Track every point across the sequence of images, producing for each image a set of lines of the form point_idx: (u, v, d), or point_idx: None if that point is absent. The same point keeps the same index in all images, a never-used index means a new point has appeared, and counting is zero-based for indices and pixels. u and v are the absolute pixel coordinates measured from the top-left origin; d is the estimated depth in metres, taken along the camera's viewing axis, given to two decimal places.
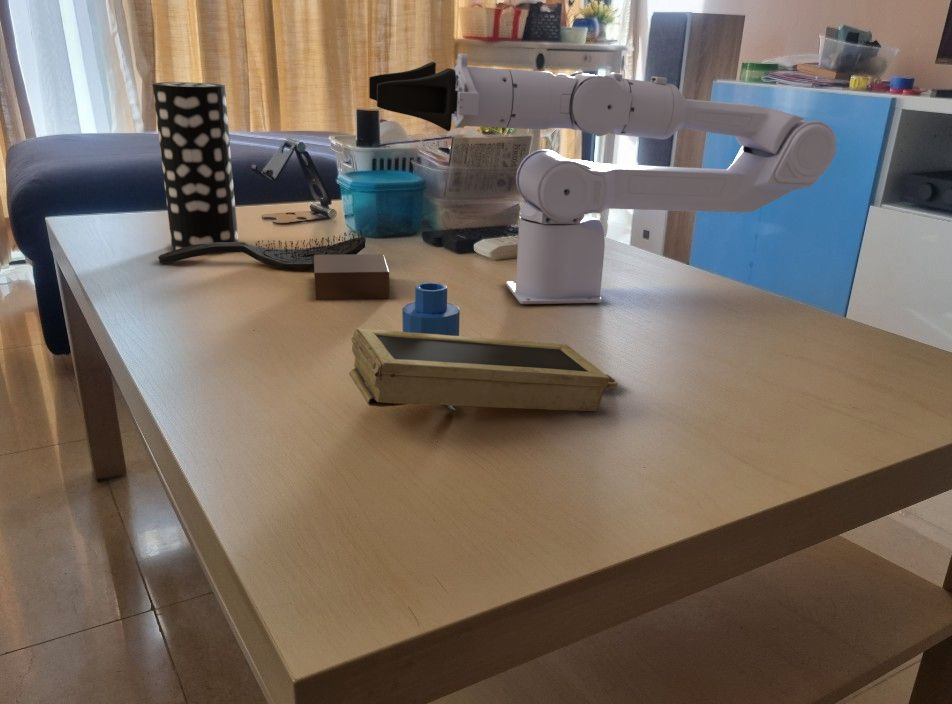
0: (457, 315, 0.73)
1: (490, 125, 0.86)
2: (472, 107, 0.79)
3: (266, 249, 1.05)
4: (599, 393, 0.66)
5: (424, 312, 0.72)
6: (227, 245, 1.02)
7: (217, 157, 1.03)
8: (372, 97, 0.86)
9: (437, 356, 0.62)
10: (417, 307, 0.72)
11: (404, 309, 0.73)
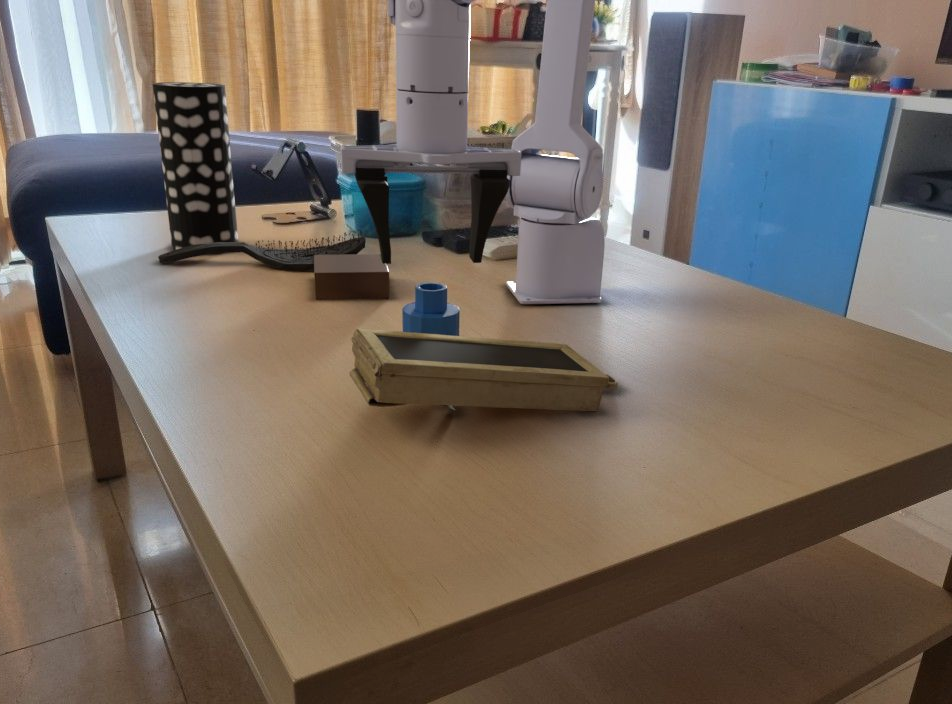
0: (457, 315, 0.73)
1: None
2: None
3: (266, 249, 1.05)
4: (599, 393, 0.66)
5: (424, 312, 0.72)
6: (227, 245, 1.02)
7: (217, 157, 1.03)
8: None
9: (437, 356, 0.62)
10: (417, 307, 0.72)
11: (404, 309, 0.73)
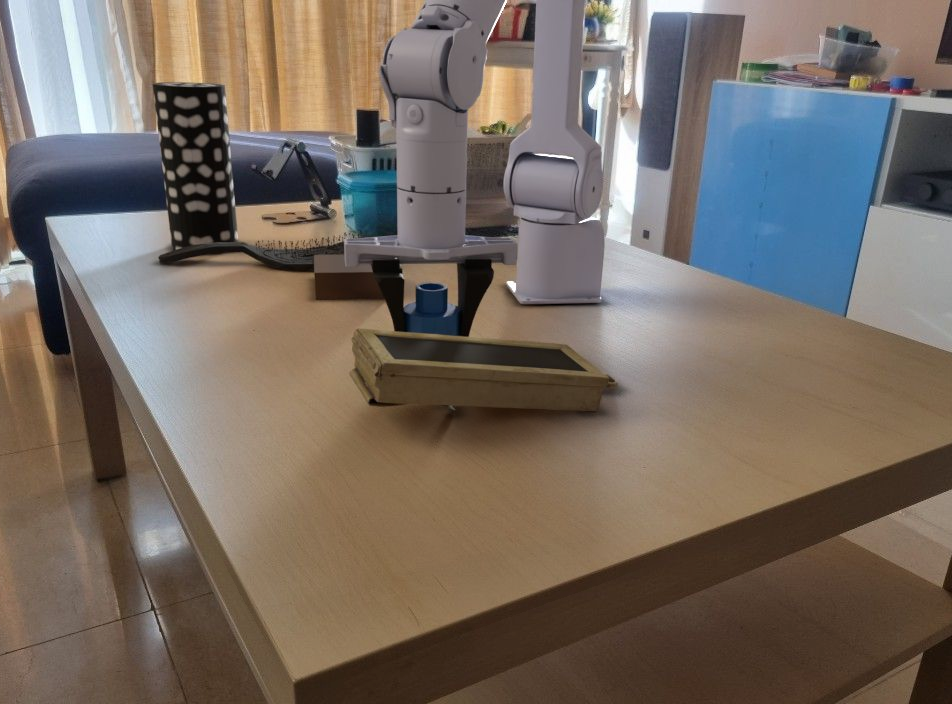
0: (457, 315, 0.73)
1: None
2: None
3: (266, 249, 1.05)
4: (599, 393, 0.66)
5: (424, 312, 0.72)
6: (227, 245, 1.02)
7: (217, 157, 1.03)
8: None
9: (437, 356, 0.62)
10: (417, 307, 0.72)
11: (404, 309, 0.73)
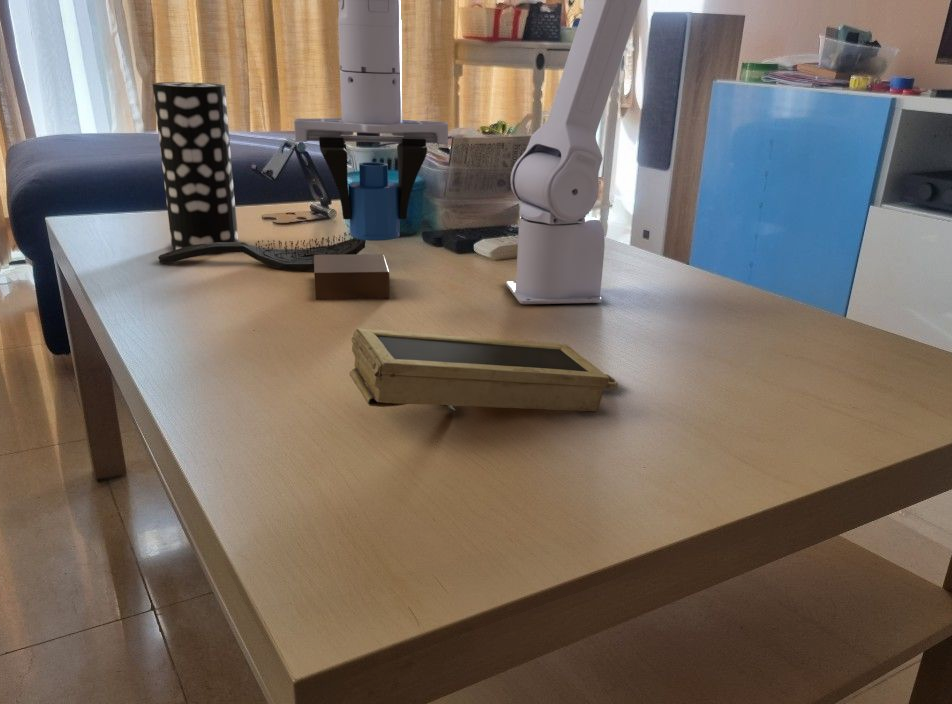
0: (397, 190, 0.82)
1: None
2: None
3: (266, 249, 1.05)
4: (599, 393, 0.66)
5: (367, 186, 0.81)
6: (227, 245, 1.02)
7: (217, 157, 1.03)
8: None
9: (437, 356, 0.62)
10: (361, 182, 0.82)
11: (350, 184, 0.82)
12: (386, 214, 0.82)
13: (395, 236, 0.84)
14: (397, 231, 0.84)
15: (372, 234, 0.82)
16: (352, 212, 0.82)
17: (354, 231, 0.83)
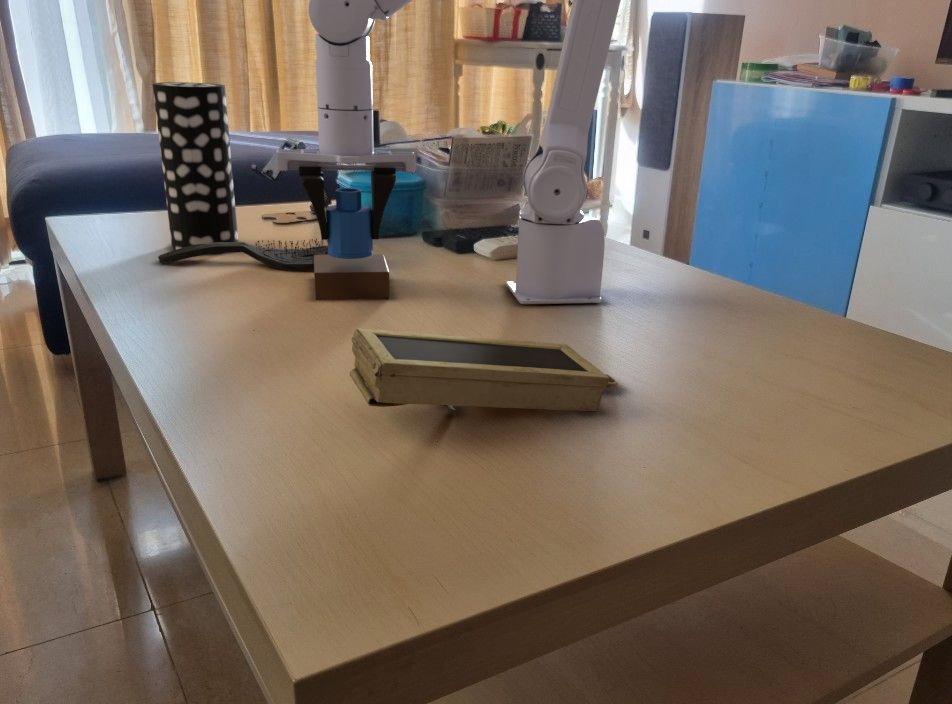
0: (369, 213, 0.91)
1: None
2: None
3: (266, 249, 1.05)
4: (599, 393, 0.66)
5: (342, 210, 0.90)
6: (227, 245, 1.02)
7: (217, 157, 1.03)
8: None
9: (437, 356, 0.62)
10: (337, 206, 0.91)
11: (327, 208, 0.91)
12: (359, 235, 0.91)
13: (368, 254, 0.93)
14: (370, 250, 0.93)
15: (347, 253, 0.91)
16: (329, 233, 0.91)
17: (331, 250, 0.92)
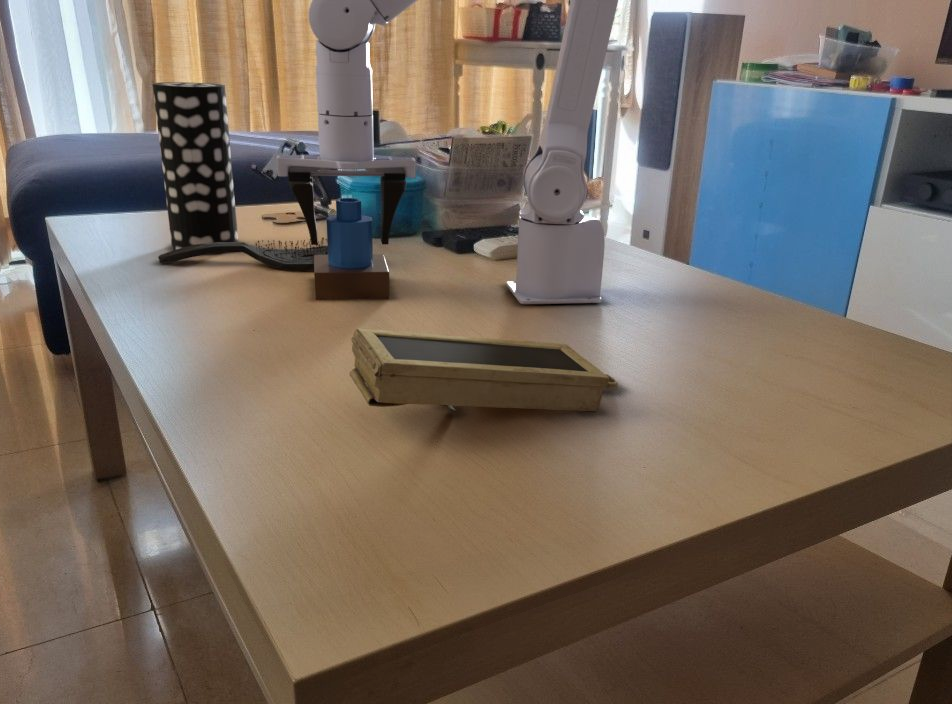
0: (369, 223, 0.92)
1: None
2: None
3: (266, 249, 1.05)
4: (599, 393, 0.66)
5: (342, 220, 0.91)
6: (227, 245, 1.02)
7: (217, 157, 1.03)
8: (317, 238, 0.93)
9: (437, 356, 0.62)
10: (337, 216, 0.91)
11: (327, 218, 0.91)
12: (360, 245, 0.91)
13: (368, 264, 0.93)
14: (370, 259, 0.93)
15: (347, 263, 0.91)
16: (329, 243, 0.92)
17: (331, 260, 0.92)
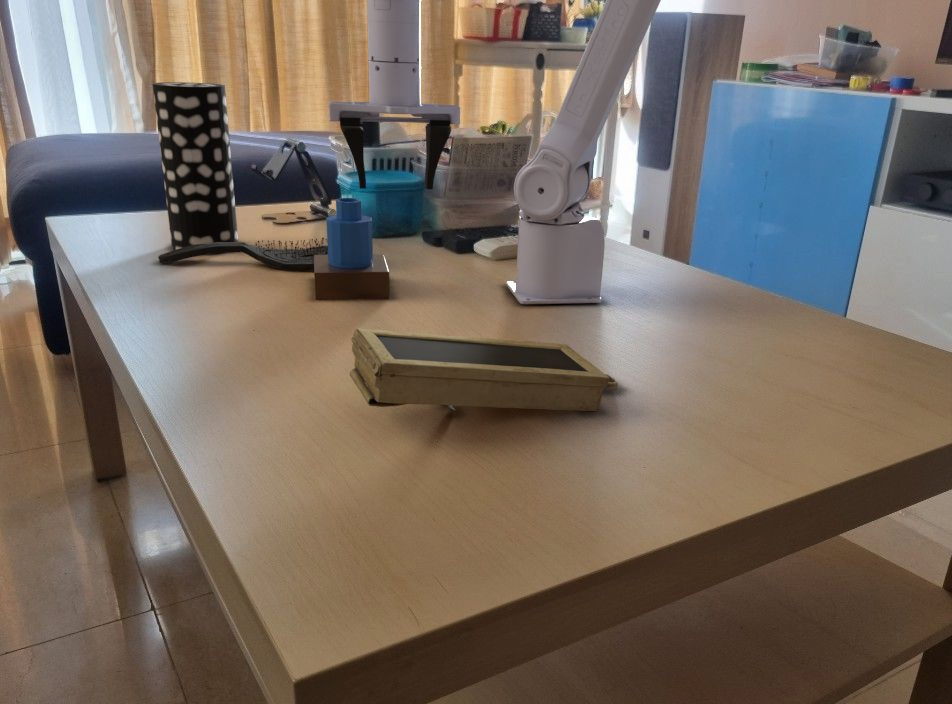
0: (369, 223, 0.91)
1: None
2: None
3: (266, 249, 1.05)
4: (599, 393, 0.66)
5: (342, 220, 0.91)
6: (227, 245, 1.02)
7: (217, 157, 1.03)
8: None
9: (437, 356, 0.62)
10: (337, 216, 0.91)
11: (327, 218, 0.91)
12: (360, 245, 0.91)
13: (368, 264, 0.93)
14: (370, 259, 0.93)
15: (347, 263, 0.91)
16: (329, 243, 0.92)
17: (331, 260, 0.92)
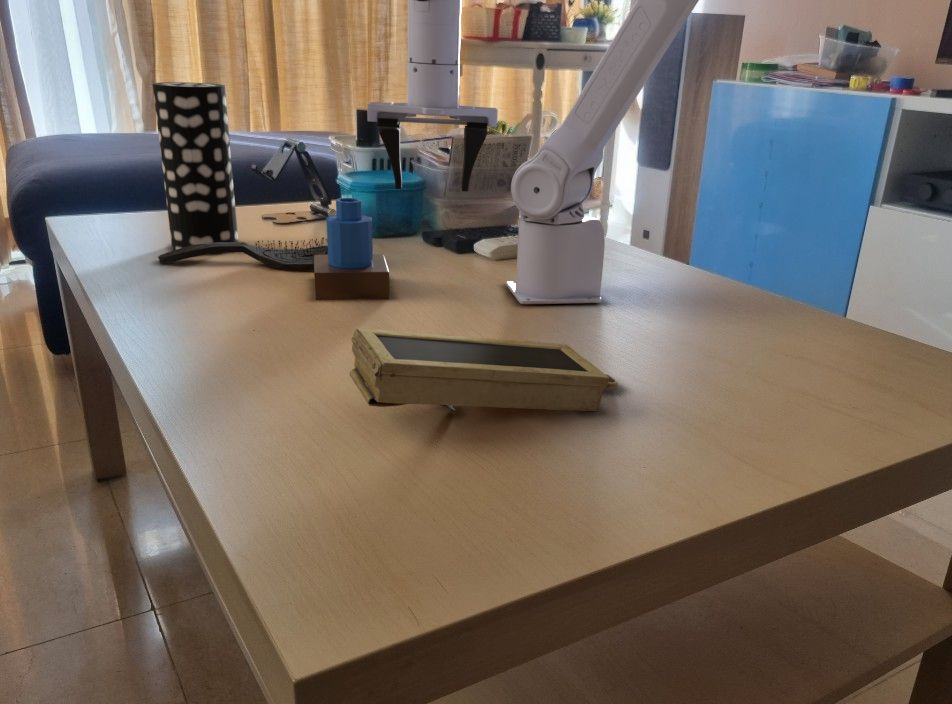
0: (369, 223, 0.92)
1: None
2: None
3: (266, 249, 1.05)
4: (599, 393, 0.66)
5: (342, 220, 0.91)
6: (227, 245, 1.02)
7: (217, 157, 1.03)
8: None
9: (437, 356, 0.62)
10: (337, 216, 0.91)
11: (327, 218, 0.91)
12: (360, 245, 0.91)
13: (368, 264, 0.93)
14: (370, 259, 0.93)
15: (347, 263, 0.91)
16: (329, 243, 0.92)
17: (331, 260, 0.92)
